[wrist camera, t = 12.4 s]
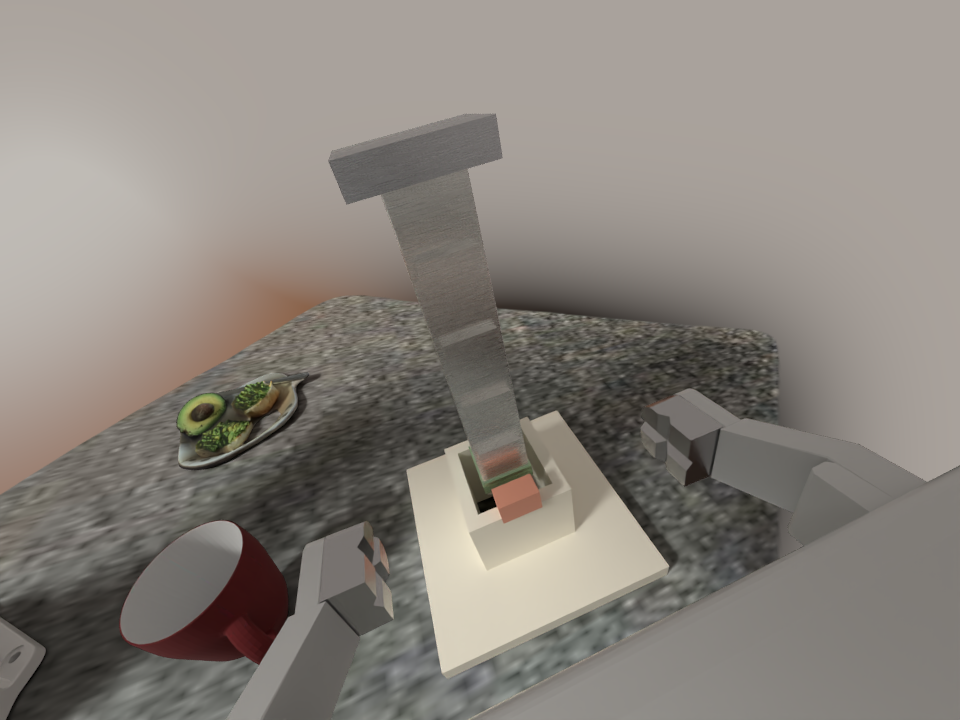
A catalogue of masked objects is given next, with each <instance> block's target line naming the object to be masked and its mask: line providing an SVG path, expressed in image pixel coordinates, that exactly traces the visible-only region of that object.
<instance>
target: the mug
mask: <svg viewBox="0 0 960 720" xmlns="http://www.w3.org/2000/svg"><path fill="white" fill-rule="evenodd" d="M287 615H288V591H287V586H286V582H285V579H284V577H283V575H282V574H281V572H280V571H279V569H278V568H277V566H276V565H275V563H274V562H273V560H272V559H271V558H270V556H269V555H268V553H267V552H266V550H265V549H264V547H263V546H262V545H261V544H260V543H259V541H258V540H257V539H256V538H255V537H253V536H252V535H251V534H250V533H248V532H247V531H246V530H245V529H243V528H242V527H240V526H239V525H238V524H236V523H234V522H232V521H228V520H216V521H211V522H208V523H205V524H202V525H200V526H198V527H195V528H193V529H192V530H190V531H188V532H186V533H185V534H183V535H182V536H180V537H179V538H177V539H176V540H174V541H173V542H172V543H171V544H169V545H168V546H167V547H166V548H165V549H163V550H162V551H161V552H160V553H159V554H158V555H157V556H156V557H155V558H154V559H153V560H152V561H151V562H150V563H149V565H148V566H147V567H146V568H145V569H144V571H143V572H142V573H141V574H140V576H139V577H138V579H137V580H136V582H135V583H134V585H133V586H132V588H131V590H130V591H129V593H128V595H127V597H126V600H125V602H124V604H123V607H122V610H121V614H120V620H119V628H120V633H121V636H122V637H123V639H124V640H125V641H126V642H127V643H129V644H130V645H133V646H135V647H137V648H140V649H142V650H145V651H147V652H150V653H153V654H155V655H158V656H162V657H167V658H173V659H187V660H204V661H230V660H235V659H238V658H241V657H244V656H246V657H247V658H249V659H250V660H252V661H253V662H255V663H257V664H259V665H260V663H261V661H262V660H263V658H264V656H265V655H266V653H267V651H268V650H269V648H270V646H271V645H272V643H273V642H274V640H275V638H276V637H277V635H278V633H279V632H280V630H281V628H282V627H283V625H284V623H285V621H286V618H287Z"/></svg>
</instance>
